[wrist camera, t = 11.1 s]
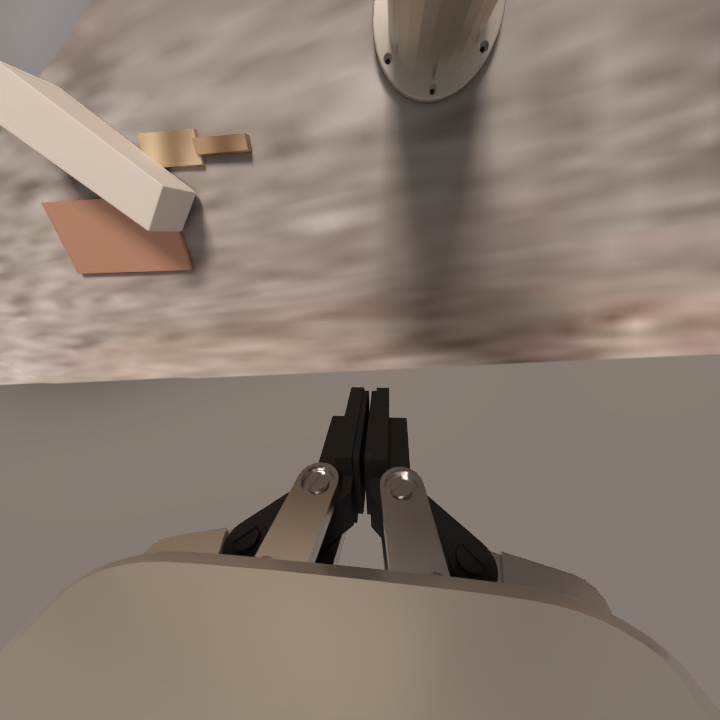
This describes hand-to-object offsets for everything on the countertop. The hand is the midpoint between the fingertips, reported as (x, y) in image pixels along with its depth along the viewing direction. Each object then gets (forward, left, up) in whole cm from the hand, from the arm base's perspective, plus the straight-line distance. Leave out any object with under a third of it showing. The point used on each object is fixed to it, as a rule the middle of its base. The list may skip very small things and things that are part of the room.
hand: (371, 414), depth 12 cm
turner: (-17, -25, -31) cm, 43 cm away
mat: (-7, -40, -31) cm, 51 cm away
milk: (-10, -27, -27) cm, 40 cm away
